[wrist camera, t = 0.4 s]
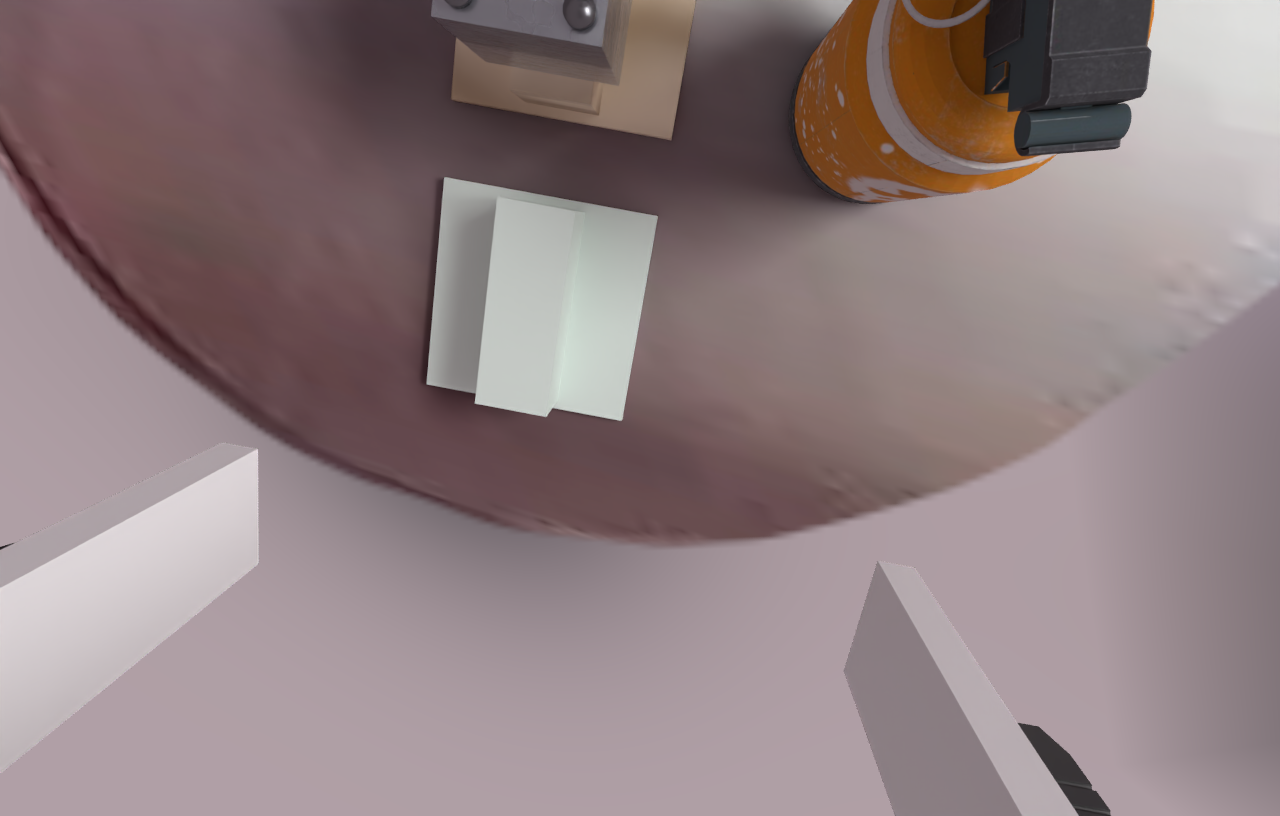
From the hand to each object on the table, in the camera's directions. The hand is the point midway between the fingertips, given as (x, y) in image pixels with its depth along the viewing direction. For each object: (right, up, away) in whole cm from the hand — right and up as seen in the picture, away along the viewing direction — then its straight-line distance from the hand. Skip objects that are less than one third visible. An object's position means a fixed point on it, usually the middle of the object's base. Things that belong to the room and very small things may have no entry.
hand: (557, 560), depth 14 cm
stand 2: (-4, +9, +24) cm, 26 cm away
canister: (+14, +20, +20) cm, 32 cm away
